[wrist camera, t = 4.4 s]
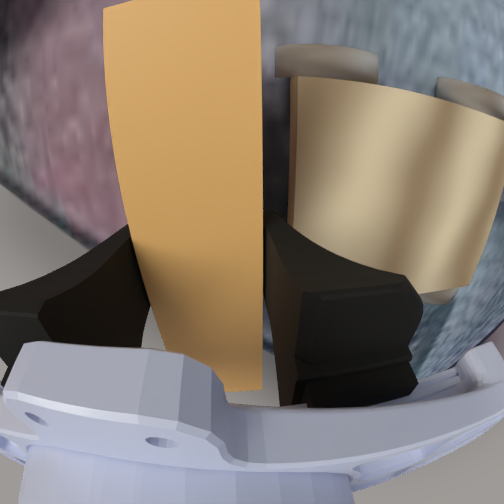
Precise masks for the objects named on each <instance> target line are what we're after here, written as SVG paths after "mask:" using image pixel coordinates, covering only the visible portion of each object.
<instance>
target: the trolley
mask: <svg viewBox="0 0 504 504" xmlns="http://www.w3.org/2000/svg"><path fill="white" fill-rule="evenodd" d="M275 77H280V78H290V157H289V192H288V218H287V223H288V224H289V225H290V226H292V227H293V228H294V229H295V230H297V231H298V232H299V233H301V234H302V235H304V236H305V237H307V238H308V239H310V240H311V241H313V242H314V243H316V244H318V245H320V246H321V247H323V248H325V249H327V250H329V251H331V252H333V253H335V254H337V255H339V256H342V257H344V258H346V259H349V260H351V261H354V262H357V263H359V264H362V265H366V266H369V267H372V268H375V269H379V270H383V271H388V272H392V273H397V274H401V275H405V276H406V277H407V278H408V280H409V281H410V283H411V284H412V286H413V287H414V288H415V290H416V291H417V293H418V294H419V296H420V297H421V300H422V301H423V302H425V303H428V304H433V305H444V304H447V303H449V302H451V301H452V300H453V298H454V296H455V294H456V292H457V290H458V288H459V287H463V286H469V283H470V281H471V279H472V277H473V274H474V272H475V270H476V267H477V265H478V263H479V260H480V258H481V255H482V252H483V250H484V247H485V245H486V242H487V239H488V236H489V233H490V230H491V227H492V224H493V221H494V218H495V215H496V212H497V208H498V205H499V201H500V198H501V194H502V190H503V186H504V96H502V95H500V94H498V93H496V92H493V91H491V90H488V89H486V88H483V87H480V86H477V85H474V84H471V83H467V82H463V81H459V80H455V79H450V78H443V77H437V86H436V98H435V97H431V96H427V95H423V94H419V93H415V92H411V91H406V90H402V89H397V88H392V87H387V86H381V85H378V56H377V55H376V54H373V53H371V52H367V51H364V50H360V49H355V48H349V47H343V46H335V45H323V44H292V45H284V46H279V47H276V48H275Z"/></svg>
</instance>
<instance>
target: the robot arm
mask: <svg viewBox="0 0 504 504" xmlns="http://www.w3.org/2000/svg"><path fill="white" fill-rule="evenodd" d="M500 201H501V202H504V186H503V190H502V194H501V198H500ZM263 295H264V299H265V303H266V307H267V311H268V315H269V319H270V324H271V330H272V338H273V346H274V354H275V363H276V371H277V380H278V390H279V401H280V407H269V406H256V405H244V404H234V403H228V402H227V400H226V396H225V390H224V385H223V383H222V382H221V380H220V379H219V378H218V376H217V375H216V374H215V372H214V371H213V369H212V368H211V367H209V366H207V365H206V364H204V363H201V362H199V361H197V360H195V359H193V358H191V357H189V356H187V355H185V354H183V353H178V352H172V351H166V350H160V349H154V348H141V345H142V337H143V331H144V327H145V323H146V319H147V315H148V312H149V309H150V305H151V304H150V301H149V298H148V295H147V292H146V288H145V285H144V282H143V278H142V275H141V271H140V268H139V264H138V261H137V257H136V253H135V249H134V246H133V242H132V238H131V234H130V230H129V226H128V224H127V225H126V226H124V227H123V228H122V229H120V230H119V231H117V232H116V233H115V234H113V235H112V236H110V237H109V238H108V239H106V240H105V241H103V242H102V243H100V244H99V245H97V246H96V247H95V248H93V249H92V250H90V251H89V252H87V253H86V254H84V255H82V256H81V257H79V258H77V259H76V260H74V261H72V262H71V263H69V264H67V265H65V266H63V267H61V268H59V269H57V270H55V271H53V272H51V273H49V274H47V275H45V276H42V277H40V278H38V279H35V280H33V281H30V282H28V283H25V284H22V285H19V286H16V287H13V288H10V289H6V290H3V291H0V357H1V359H2V360H3V361H4V362H5V364H6V365H7V366H8V368H7V370H6V373H5V375H4V377H3V379H2V381H0V453H1V454H3V455H4V456H6V457H8V458H10V459H12V460H14V461H16V462H18V463H20V464H22V465H24V466H25V468H24V473H23V478H22V484H21V489H20V495H19V502H18V504H355V503H354V499H353V494H352V492H355V491H358V490H362V489H365V488H368V487H371V486H374V485H377V484H379V483H382V482H385V481H388V480H391V479H393V478H396V477H399V476H401V475H404V474H406V473H408V472H411V471H413V470H415V469H418V468H420V467H422V466H424V465H426V464H429V463H431V462H433V461H435V460H437V459H439V458H441V457H443V456H445V455H447V454H449V453H451V452H452V451H455V450H456V449H458V448H460V447H462V446H464V445H466V444H467V443H469V442H471V441H473V440H474V439H476V438H478V437H480V436H481V435H482V434H484V433H485V432H486V431H488V430H489V429H490V428H491V427H492V426H494V425H495V424H496V423H497V422H498V421H500V419H502V418H503V417H504V360H503V358H502V357H501V355H500V353H499V352H498V350H497V349H496V347H495V345H494V344H493V342H487V343H484V344H482V345H479V346H477V347H474V348H472V349H470V350H468V351H467V352H466V353H464V354H463V355H462V357H461V358H460V359H459V361H458V362H457V364H456V366H455V367H454V368H451V369H448V370H445V371H442V372H439V373H436V374H433V375H430V376H427V377H424V378H421V379H418V380H417V378H416V376H415V374H414V372H413V370H412V368H411V365H410V363H409V361H411V359H412V354H411V352H410V350H409V348H408V345H409V343H410V341H411V339H412V337H413V335H414V333H415V331H416V329H417V327H418V325H419V323H420V320H421V317H422V314H423V302H422V300H421V297H420V296H419V294H418V293H417V291H416V290H415V288H414V287H413V286H412V284H411V283H410V281H409V280H408V278H407V277H406V276H405V275H401V274H397V273H392V272H388V271H383V270H379V269H375V268H372V267H369V266H366V265H362V264H359V263H357V262H354V261H351V260H349V259H346V258H344V257H342V256H339V255H337V254H335V253H333V252H331V251H329V250H327V249H325V248H323V247H321V246H320V245H318V244H316V243H314V242H313V241H311V240H310V239H308V238H307V237H305V236H304V235H302V234H301V233H299V232H298V231H297V230H295V229H294V228H293V227H292V226H290V225H289V224H288V223H287V222H286V221H284V220H283V219H282V218H281V217H280V216H279V215H278V214H276V213H275V212H274V211H273V210H263Z"/></svg>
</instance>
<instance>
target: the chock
mask: <svg viewBox="0 0 504 504" xmlns="http://www.w3.org/2000/svg"><path fill="white" fill-rule="evenodd" d="M103 42H104V66H105V81H106V93H107V104H108V113H109V121H110V129H111V136H112V143H113V150H114V156H115V162H116V168H117V173H118V179H119V184H120V189H121V194H122V199H123V203H124V208H125V213H126V217H127V221H128V226H129V230H130V234H131V238H132V242H133V246H134V249H135V253H136V257H137V261H138V264H139V268H140V271H141V275H142V278H143V282H144V285H145V288H146V292H147V295H148V298H149V301H150V304H151V307H152V310H153V313H154V316H155V319H156V322H157V325H158V328H159V331H160V334H161V337H162V339H163V342H164V345H165V348H166V350H167V351H172V352H178V353H183V354H185V355H187V356H189V357H191V358H193V359H195V360H197V361H199V362H201V363H204V364H206V365H207V366H209V367H211V368H212V369H213V371H214V372H215V374H216V375H217V376H218V378H219V379H220V380H221V382H222V383H223V385H224V390H225V392H236V391H253V390H262V343H263V148H262V74H261V26H260V0H133V1H129V2H125V3H121V4H118V5H114V6H111V7H107V8H104V9H103Z"/></svg>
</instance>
